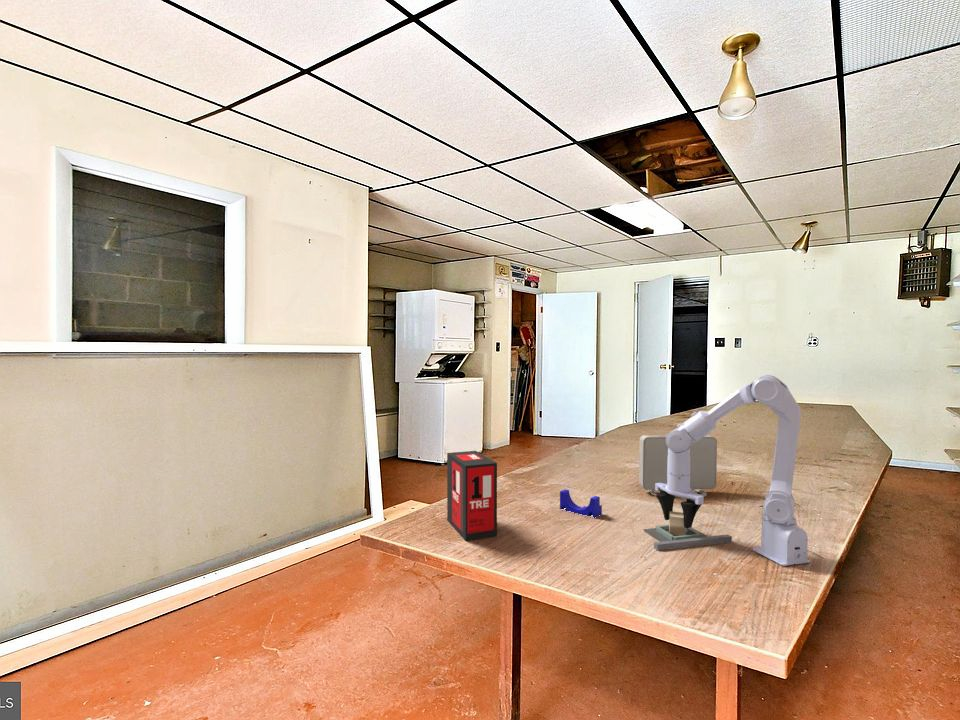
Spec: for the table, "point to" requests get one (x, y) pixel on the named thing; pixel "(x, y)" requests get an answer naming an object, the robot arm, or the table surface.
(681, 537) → the keeper cradle
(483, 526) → the cleaning product box
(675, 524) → the block
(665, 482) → the network device
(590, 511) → the blue notched block
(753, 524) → the table surface
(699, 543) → the rail
